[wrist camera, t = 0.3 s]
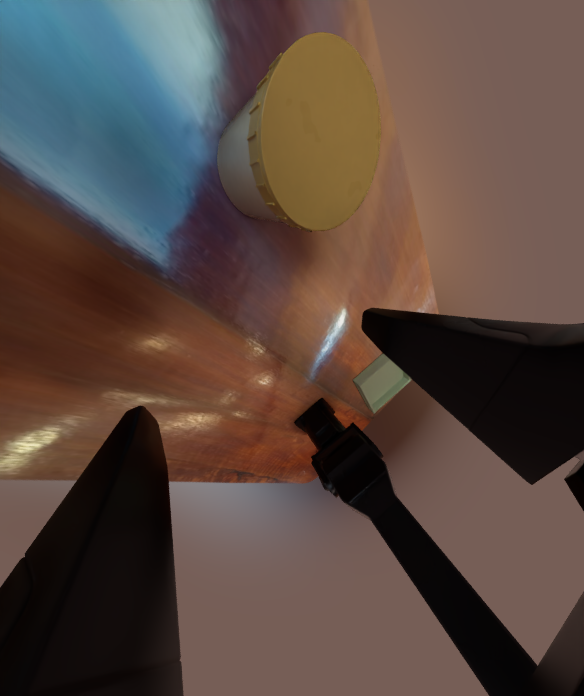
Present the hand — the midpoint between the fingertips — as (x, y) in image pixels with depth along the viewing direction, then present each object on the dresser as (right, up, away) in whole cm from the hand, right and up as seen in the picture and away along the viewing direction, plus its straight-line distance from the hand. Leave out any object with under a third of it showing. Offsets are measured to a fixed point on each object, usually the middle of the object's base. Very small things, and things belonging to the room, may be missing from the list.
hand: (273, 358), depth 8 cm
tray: (+19, -6, +35) cm, 40 cm away
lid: (+2, +10, +2) cm, 10 cm away
